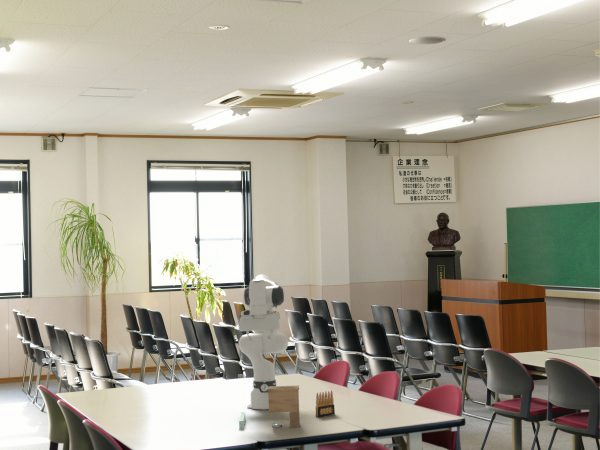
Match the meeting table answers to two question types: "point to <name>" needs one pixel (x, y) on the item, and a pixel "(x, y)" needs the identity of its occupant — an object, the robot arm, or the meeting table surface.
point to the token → (277, 425)
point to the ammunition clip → (324, 405)
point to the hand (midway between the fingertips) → (259, 339)
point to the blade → (242, 420)
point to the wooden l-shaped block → (285, 402)
